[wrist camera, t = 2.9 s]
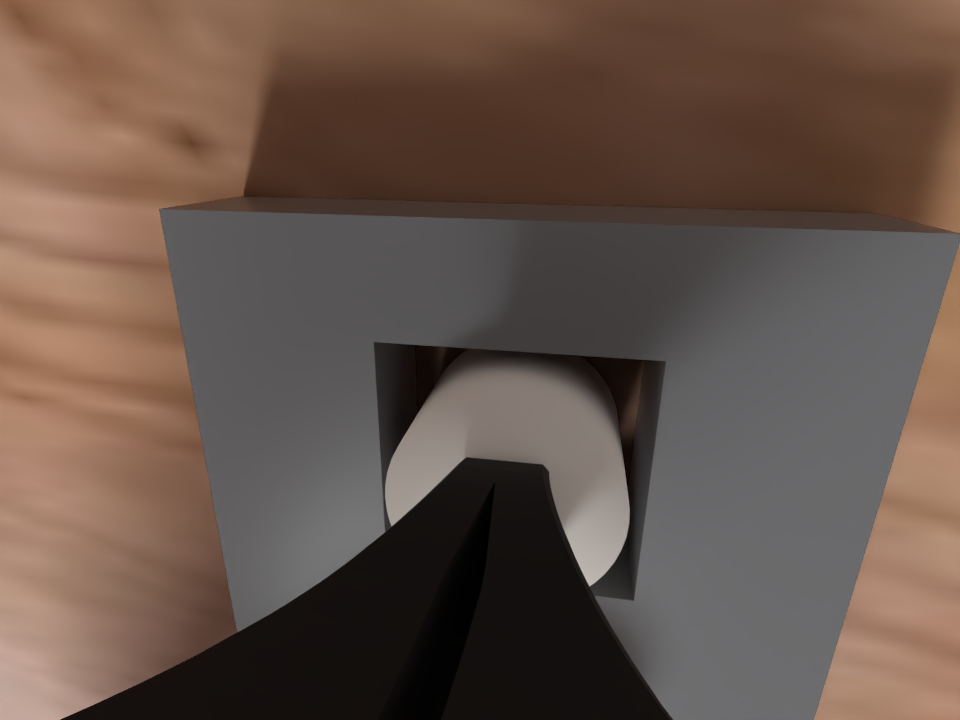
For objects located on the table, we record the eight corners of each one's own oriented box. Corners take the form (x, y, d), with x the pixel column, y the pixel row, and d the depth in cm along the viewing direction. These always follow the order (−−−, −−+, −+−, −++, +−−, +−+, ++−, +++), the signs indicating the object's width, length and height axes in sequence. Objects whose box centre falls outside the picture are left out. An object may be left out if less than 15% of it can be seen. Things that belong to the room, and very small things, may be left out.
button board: (694, 936, 18) (711, 1054, 16) (329, 860, 20) (296, 955, 17) (874, 212, 10) (961, 233, 8) (241, 195, 12) (159, 208, 10)
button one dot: (609, 515, 12) (617, 630, 10) (431, 496, 13) (386, 599, 10) (627, 342, 11) (644, 414, 8) (427, 330, 12) (374, 392, 9)
